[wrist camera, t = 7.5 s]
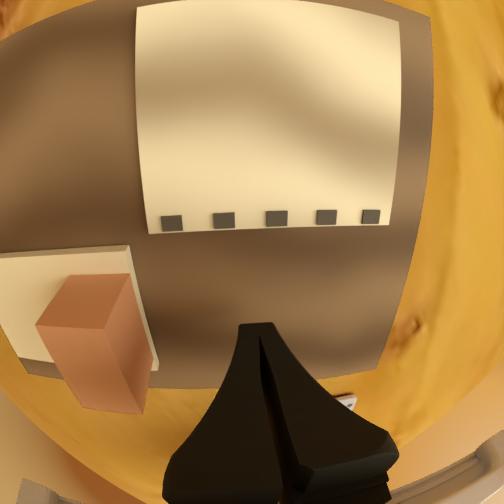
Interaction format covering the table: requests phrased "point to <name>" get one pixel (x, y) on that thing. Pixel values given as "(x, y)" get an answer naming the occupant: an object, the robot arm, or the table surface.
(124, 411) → the stub
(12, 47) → the board
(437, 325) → the table surface
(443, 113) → the table surface
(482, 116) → the table surface
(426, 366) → the table surface
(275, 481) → the robot arm
